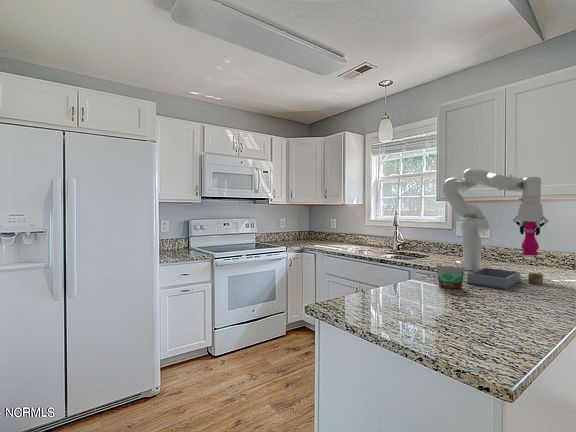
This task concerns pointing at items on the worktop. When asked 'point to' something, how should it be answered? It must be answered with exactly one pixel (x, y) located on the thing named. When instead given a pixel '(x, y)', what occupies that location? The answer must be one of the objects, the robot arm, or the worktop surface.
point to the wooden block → (535, 278)
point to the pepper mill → (530, 239)
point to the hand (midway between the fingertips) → (529, 234)
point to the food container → (450, 277)
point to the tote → (494, 278)
